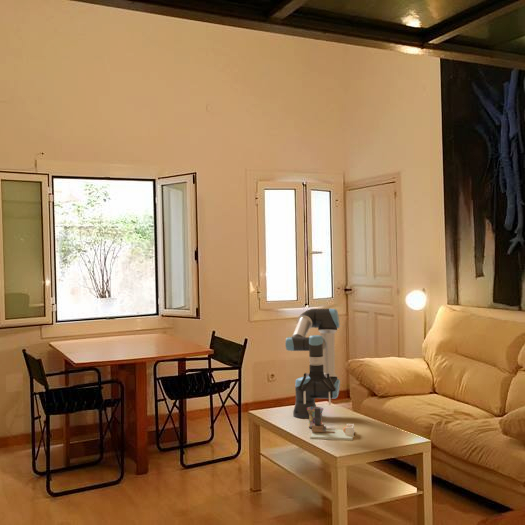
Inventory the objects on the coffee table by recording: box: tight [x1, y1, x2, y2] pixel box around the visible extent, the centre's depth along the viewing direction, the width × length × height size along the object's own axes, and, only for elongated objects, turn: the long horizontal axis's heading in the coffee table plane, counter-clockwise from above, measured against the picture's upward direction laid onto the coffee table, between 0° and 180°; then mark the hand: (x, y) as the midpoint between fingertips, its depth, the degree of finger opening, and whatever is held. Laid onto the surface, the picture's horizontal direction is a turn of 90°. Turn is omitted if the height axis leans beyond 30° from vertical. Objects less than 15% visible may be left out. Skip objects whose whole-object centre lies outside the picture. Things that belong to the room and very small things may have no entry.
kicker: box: [311, 408, 327, 432], centre depth 332 cm, size 5×7×12 cm
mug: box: [307, 406, 324, 429], centre depth 348 cm, size 12×9×11 cm
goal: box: [344, 423, 355, 437], centre depth 328 cm, size 8×4×4 cm, turn 167°
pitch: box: [309, 428, 356, 441], centre depth 329 cm, size 16×22×2 cm
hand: (317, 403), depth 332 cm, fingers open, 13 cm apart
